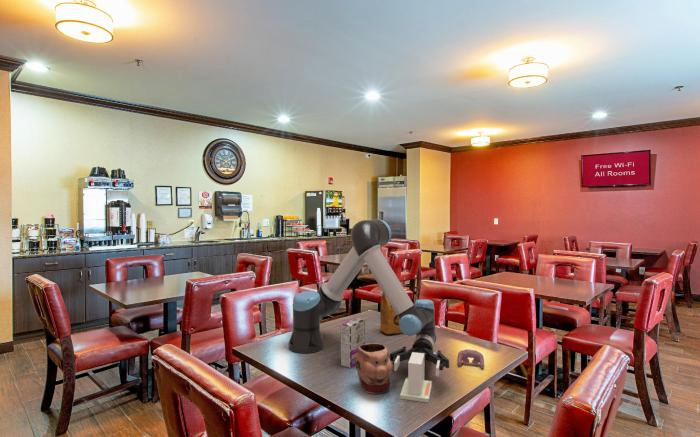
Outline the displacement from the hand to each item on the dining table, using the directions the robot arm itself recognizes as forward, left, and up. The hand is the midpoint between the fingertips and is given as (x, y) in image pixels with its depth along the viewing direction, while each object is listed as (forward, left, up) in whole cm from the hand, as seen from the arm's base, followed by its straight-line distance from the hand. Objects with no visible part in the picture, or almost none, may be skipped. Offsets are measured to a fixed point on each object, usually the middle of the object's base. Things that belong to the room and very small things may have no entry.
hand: (415, 369), depth 127 cm
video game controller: (+17, +30, -9) cm, 36 cm away
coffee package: (-18, +61, -9) cm, 64 cm away
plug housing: (0, +3, -7) cm, 8 cm away
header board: (0, +3, -9) cm, 9 cm away
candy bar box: (-27, +20, -9) cm, 35 cm away
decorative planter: (-15, +2, -9) cm, 17 cm away
